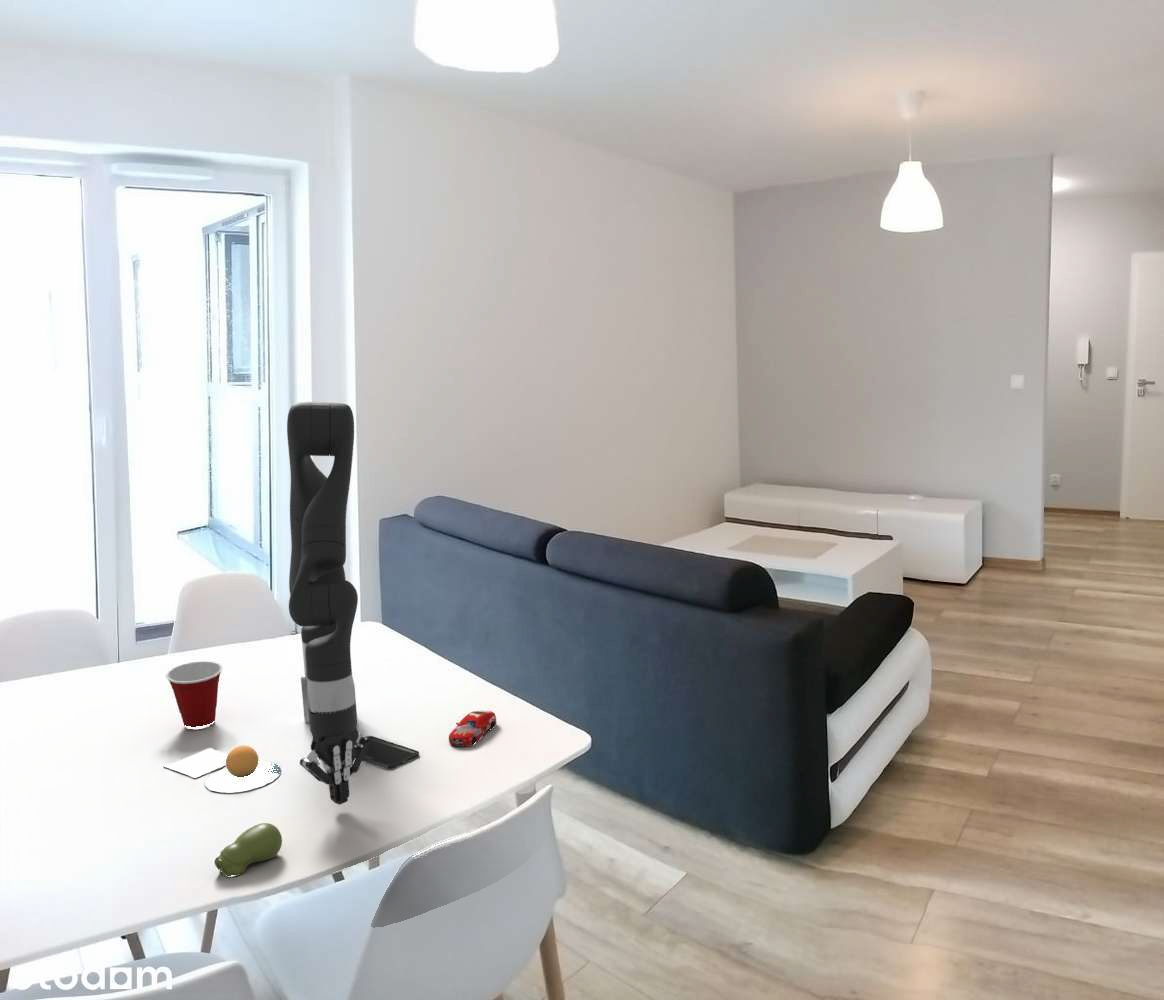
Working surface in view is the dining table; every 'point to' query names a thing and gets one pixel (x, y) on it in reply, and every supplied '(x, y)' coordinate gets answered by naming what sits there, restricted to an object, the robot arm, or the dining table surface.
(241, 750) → the ball
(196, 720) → the plastic cup
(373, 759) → the phone
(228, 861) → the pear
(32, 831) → the dining table surface
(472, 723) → the race car
